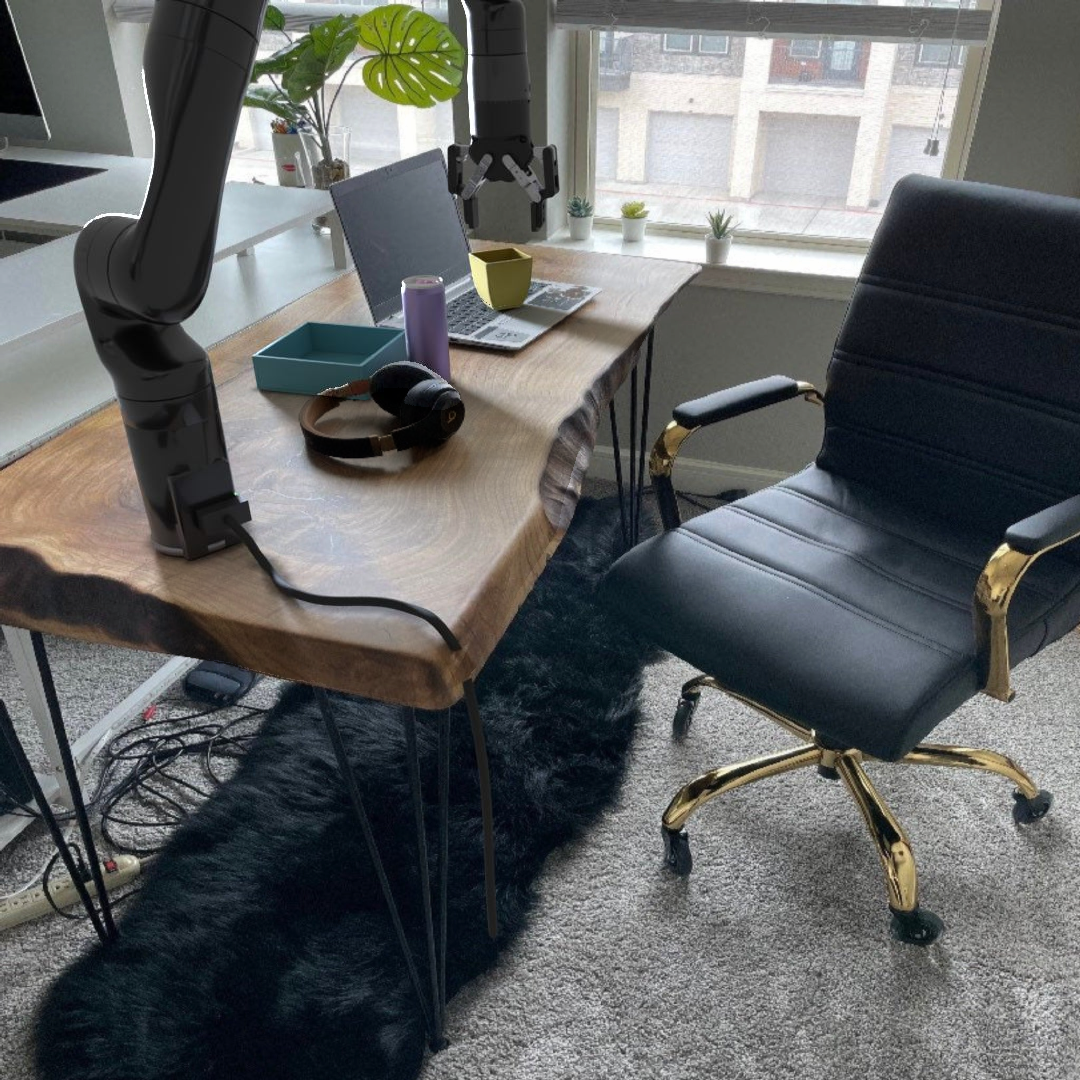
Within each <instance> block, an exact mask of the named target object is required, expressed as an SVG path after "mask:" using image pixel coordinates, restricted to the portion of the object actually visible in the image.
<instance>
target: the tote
mask: <svg viewBox="0 0 1080 1080" xmlns="http://www.w3.org/2000/svg"><path fill="white" fill-rule="evenodd" d="M251 359H252V366H253V372H254V377H255V383H256V389H257V390H263V391H269V392H270V391H273V392H281V393H291V394H298V395H299V394H300V395H310V396H318V395H317V394H318V393H321V392H323V391H325V390H326V389H329V388H335V387H341V386H343V385H345V384H347V383H349V382H352V381H355V380H360V379H365V378H369V377H370V376H372V375H373V374H374V373H375V372H376V371H378V370H379V369H381V368H382V367H383V366H385V365H388V364H390V363H394V362H399V361H404V360H405V361H408V358H407V347H406V336H405V328H397V327H395V328H394V327H383V326H373V325H372V326H371V325H361V324H360V325H358V324H348V323H347V324H345V323H334V322H323V321H312V320H311V321H310V320H306V321H305V322H302V323H301V324H300V325H298V326H297V327H295V328H294V329H292V330H291V331H289V332H288V333H286V334H284V335H283V336H281V337H279V338H278V339H277V340H275V341H273V342H272V343H270V344H269V345H267V346H266V347H264V348H262V349H261V350H259V351H258V352H256V353H255V354H253V355H251ZM371 397H372V396H371V395H370V393H369V392H367V393H366V394H361V395H357V396H352V397H348V398H346V399H348V400H356V401H357V400H358V401H367V400H368V399H370V398H371Z"/></svg>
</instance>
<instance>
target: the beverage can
mask: <svg viewBox="0 0 1080 1080" xmlns="http://www.w3.org/2000/svg"><path fill="white" fill-rule="evenodd" d="M401 284H402V287H401V301H402V311H403V312H402V313H403V323H404V329H405V336H406V347H407V358H408V361H410V362H416V363H419V364H422V365H423V366H426V367H427V368H428V369H430V370H432V371H433V372H435V373H437V374H438V375H440V376H441V378H443V379H444V380H446V381H447V382H448V383H449V384H450V381H451V380H452V374H451V360H450V359H451V357H450V343H449V329H448V312H447V298H446V287H445V284H444V279H443V278H442V277H440V276H437V275H433V274H432V275H431V274H430V275H429V274H423V275H422V274H421V275H412V276H409V277H406V278H404V279H403V280H402V281H401Z"/></svg>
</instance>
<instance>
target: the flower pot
mask: <svg viewBox="0 0 1080 1080" xmlns="http://www.w3.org/2000/svg"><path fill="white" fill-rule="evenodd" d="M468 258H469V266H470V271H471V277H472V281H473V284H474V287H475V289H476V291H477V293H478V296H479V297H480V299H481V298H482V299H483V300H484V301H483V300H482V299H481V300H482V302H483V304H484V305H486V306H487V307H489V308H490V309H492V310H493V311H504V310H508V309H514V308H516V309H517V308H521V307H522V306H523V304H524V302H525V301H526V299H527V297H528V295H529V292H530V288H531V285H532V284H531V283H532V275H533V274H532V273H533V262H534V261H533V260H534V257H533V256H532V255H530V254H527V253H526V252H523V251H522V250H520V249H518V248H516V247H514V246H510V247H503V248H496V249H488V250H480V251H474V252H473V251H472V252H469V253H468ZM486 302H487V303H486ZM489 304H490V305H489ZM504 305H507V306H504ZM492 306H493V307H492ZM498 306H501V307H498Z"/></svg>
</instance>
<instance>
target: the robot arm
mask: <svg viewBox="0 0 1080 1080" xmlns="http://www.w3.org/2000/svg"><path fill="white" fill-rule="evenodd" d="M461 2H462V5H463V8H464V12H465V15H466V31H467V33H466V34H467V49H468V64H467V87H468V88H467V89H468V90H467V91H468V107H469V124H470V137H471V140H470V144H463V143H461V142H460V141H456V142H454V143H452V144H450V145H448V146H447V151H446V154H447V155H446V156H447V158H446V159H447V160H446V161H447V191H448V193H449V194H451V195H456V196H459V197H460V198H461V199H462V206H463V220H464V223H465V225H468V229H469V230H476V229H477V228H479V226H480V216H479V215H480V213H479V197H478V196H476V194H477V193H478V191H479V190H480V188H481V187H482V185H483V184H484V183H485V181H486V180H487V181H488V182H489V183H496V182H500V181H502V182H505V183H514V182H516V181H517V183H518V184H519V186H520V187H521V188H522V189H523V190H525V192H526V193H527V195H528V196H529V198H531V200H532V201H531V202H530V231H531V233H538V232H540V231H541V229H542V228H543V226H545V223H546V200H547V199H552V198H554V197H555V196H556V195H557V194H558V193H559V192H560V175H559V162H558V161H559V160H558V148H557V146H556V145H555V144H553V143H550V144H548V145H547V146H546V145H545V146H535V145H534V143H533V140H532V114H531V113H532V111H531V110H532V109H531V92H532V84H531V79H530V78H531V76H530V66H529V60H528V52H527V51H528V47H527V46H528V45H527V42H528V41H527V16H526V15H527V14H526V8H525V5H524V3H523V1H522V0H461ZM269 3H270V0H154V4H153V8H152V11H151V16H150V21H149V25H148V28H147V33H146V37H145V41H144V46H143V52H142V61H141V64H142V79H143V87H144V94H145V99H146V104H147V109H148V114H149V118H150V124H151V130H152V138H153V157H152V158H153V159H152V161H153V162H152V166H151V173H150V176H149V181H148V185H147V188H146V189H147V190H146V193H145V197H144V201H143V205H142V207H141V210H140V214H139V216H137V215H132V214H125V213H106V214H101V215H99V216H96V217H95V218H93V219H91V220H90V221H88V222H87V223H86V224H85V225H84V226H83V228H82V229H81V231H80V232H79V233H78V236H77V238H76V241H75V243H74V248H73V256H72V264H73V265H72V266H73V276H74V281H75V285H76V290H77V293H78V297H79V300H80V301H79V302H80V304H81V307H82V309H83V310H82V311H83V314H84V317H85V321H86V324H87V326H88V330H89V333H90V336H91V340H92V343H93V347H94V349H95V353H96V354H97V357H98V359H99V361H100V363H101V364H102V367H103V368H104V369H105V370H106V371H107V373H108V375H109V376H110V378H111V380H112V383H113V387H114V391H115V395H116V398H117V402H118V406H119V410H120V414H121V418H122V424H123V427H124V431H125V435H126V439H127V442H128V447H129V451H130V455H131V459H132V462H133V466H134V471H135V475H136V478H137V483H138V487H139V492H140V495H141V498H142V502H143V507H144V511H145V514H146V518H147V522H148V526H149V530H150V539H151V543H152V545H153V547H154V548H155V549H156V550H157V551H158V552H160V553H162V554H165V555H168V556H174V557H184V558H186V559H187V560H188V561H192V560H195V559H197V558H200V557H203V556H206V555H208V554H211V553H213V552H216V551H219V550H222V549H224V548H227V547H231V546H232V545H235V544H237V543H240V542H243V544H244V545H245V547H246V548H247V549H248V551H249V553H250V554H251V556H252V557H253V558H254V559H255V561H256V562H257V563H258V564H259V567H261V569H262V570H263V571H265V572H266V574H268V576H269V577H270V579H271V581H272V583H273V584H274V585H275V587H276V588H277V589H278V590H279V591H280V592H282V594H283V593H284V594H285V595H287V596H289V597H292V598H294V599H297V600H299V601H302V602H305V603H309V604H313V605H319V606H325V607H326V606H327V607H376V608H386V609H391V610H395V611H399V612H401V613H402V612H403V613H405V614H409V615H412V616H415V617H418V618H420V619H422V620H424V621H425V622H427V623H428V624H429V625H430V626H432V627H433V629H434V630H435V631H436V632H437V633H438V634H439V635H440V636H441V638H442V639H443V641H444V642H445V644H446V645H447V646H448V648H449V649H450V650H451V651H454V652H459V651H461V650H462V645H461V644H460V642H459V640H458V639H457V637H456V636H455V634H454V633H453V631H451V629H450V628H449V627H448V625H447V624H446V623H445V621H443V620H442V619H441V618H440V617H439V616H438V615H437V614H436V613H434V612H433V611H431V610H429V609H427V608H424V607H422V606H419V605H415V604H413V603H411V602H406V601H403V600H399V599H396V598H392V597H383V596H373V595H372V596H371V595H344V596H343V595H326V594H325V595H324V594H317V593H311V592H308V591H305V590H302V589H300V588H298V587H295V586H294V585H291V584H289V583H287V582H286V581H285V580H284V579H283V578H282V577H281V576H280V574H279V573H278V572H277V570H276V569H275V567H274V566H273V565H272V563H271V562H270V561H269V560H268V558H267V557H266V556H265V554H264V552H262V550H261V549H260V548H259V546H258V544H257V543H256V541H255V540H254V538H253V537H252V536H251V534H250V533H249V532H248V531H247V529H246V528H244V527H245V526H244V524H246V523H249V522H251V521H253V518H252V512H251V509H250V508H251V507H250V501H249V500H248V499H247V498H245V497H244V496H243V495H241V494H240V493H238V494H237V492H236V491H237V490H236V487H235V482H234V481H235V480H234V475H233V471H232V467H231V462H230V456H229V451H228V446H227V441H226V437H225V431H224V426H223V421H222V415H221V410H220V406H219V400H218V395H217V390H216V385H215V380H214V375H213V374H214V373H213V369H212V364H211V360H210V357H209V354H208V353H207V351H206V350H205V348H203V346H202V345H200V344H199V342H197V341H196V340H195V339H194V338H193V337H192V336H191V335H190V334H189V333H188V332H187V331H186V330H185V328H184V326H182V324H181V323H183V322H186V321H187V320H188V319H190V318H191V317H192V316H193V315H194V314H195V313H196V311H198V310H199V308H200V306H201V305H202V303H203V301H204V299H205V297H206V295H207V290H208V288H209V285H210V282H211V276H212V271H213V265H214V261H215V252H216V247H217V239H218V233H219V232H218V231H219V224H220V218H221V209H222V204H223V197H224V191H225V186H226V180H227V175H228V171H229V167H230V162H231V158H232V154H233V148H234V145H235V140H236V136H237V130H238V127H239V123H240V118H241V114H242V109H243V106H244V102H245V98H246V96H247V93H248V89H249V86H250V83H251V79H252V75H253V71H254V67H255V64H256V59H257V55H258V51H259V46H260V44H261V43H260V42H261V37H262V33H263V27H264V24H265V18H266V14H267V10H268V6H269ZM468 156H469V158H470V159H471V160H472V162H473V163H474V165H475V167H476V168H475V169H474V171H473V173H472V175H470V177H469V179H468V182H467V183H466V184H465V183H464V162H465V161H467V158H468ZM535 157H536V158H537V159H538V163H539V164H540V165H541V166H542V167H543V179H544V186H543V185H542V184H541V183H540V181H539V180H538V177H537V176H538V175H536V173H535V172H534V170H533V169H532V167H531V166H530V164H531V162H532V161H533V160H534V158H535ZM461 685H462V689H463V694H464V697H465V702H466V707H467V712H468V715H469V719H470V726H471V731H472V735H473V742H474V747H475V757H476V763H477V771H478V778H479V787H480V800H481V801H480V802H481V815H482V831H483V857H484V858H483V859H484V878H485V880H484V881H485V897H486V898H485V899H486V900H485V901H486V913H487V924H488V926H487V927H488V936H489V937H490V938H492V939H494V938H497V937H498V936H499V928H498V915H497V914H498V913H497V900H496V881H495V879H496V878H495V853H494V852H495V851H494V850H495V849H494V848H495V847H494V824H493V821H494V820H493V805H492V804H493V803H492V802H493V801H492V791H491V790H492V789H491V780H490V771H489V762H488V761H489V760H488V755H487V747H486V746H487V745H486V741H485V734H484V729H483V724H482V723H483V722H482V719H481V718H482V717H481V713H480V709H479V708H480V707H479V704H478V699H477V696H476V695H477V694H476V691H475V690H476V689H475V685H474V681H473V677H470V678H467V679H465V680H464V681H462V682H461Z"/></svg>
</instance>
